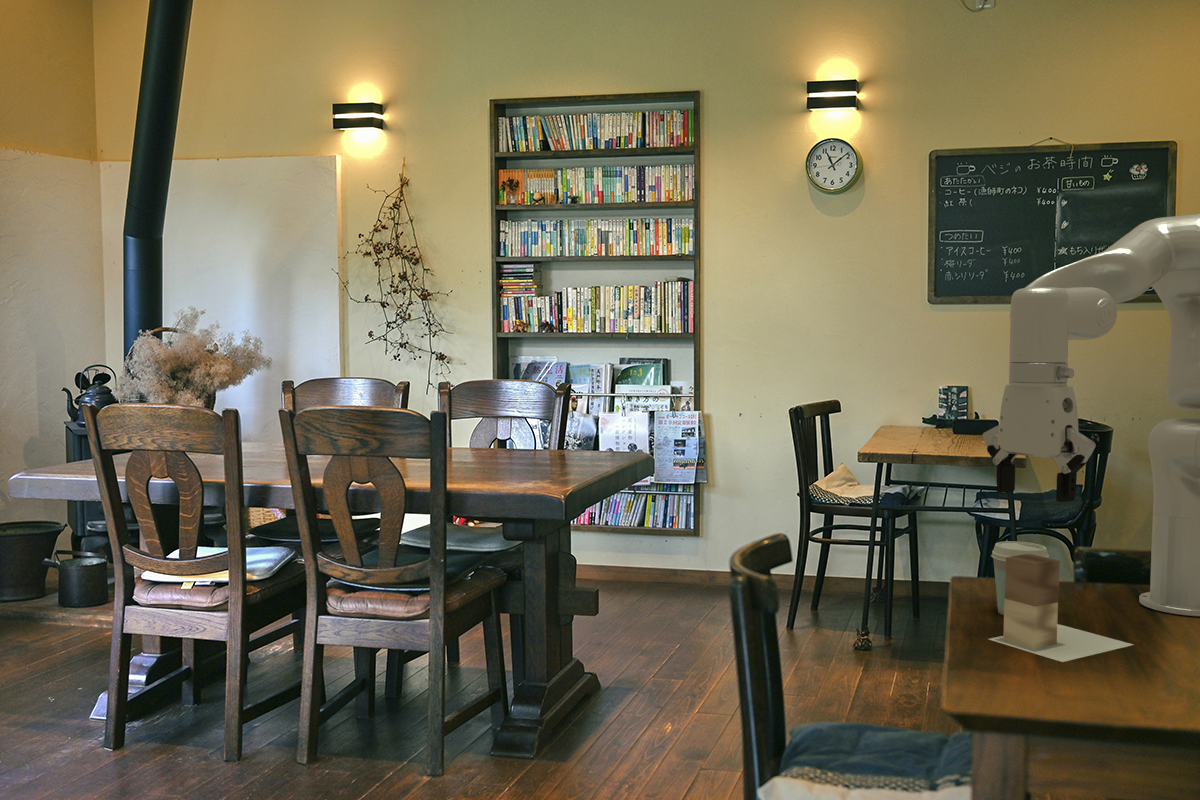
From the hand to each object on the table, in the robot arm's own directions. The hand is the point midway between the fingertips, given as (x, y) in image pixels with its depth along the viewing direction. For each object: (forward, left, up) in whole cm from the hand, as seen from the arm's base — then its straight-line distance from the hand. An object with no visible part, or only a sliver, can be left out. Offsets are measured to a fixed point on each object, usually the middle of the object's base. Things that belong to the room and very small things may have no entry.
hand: (1034, 496), depth 142 cm
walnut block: (0, 0, -15) cm, 15 cm away
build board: (-4, +2, -22) cm, 23 cm away
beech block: (0, 0, -21) cm, 21 cm away
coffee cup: (-12, -11, -22) cm, 28 cm away
